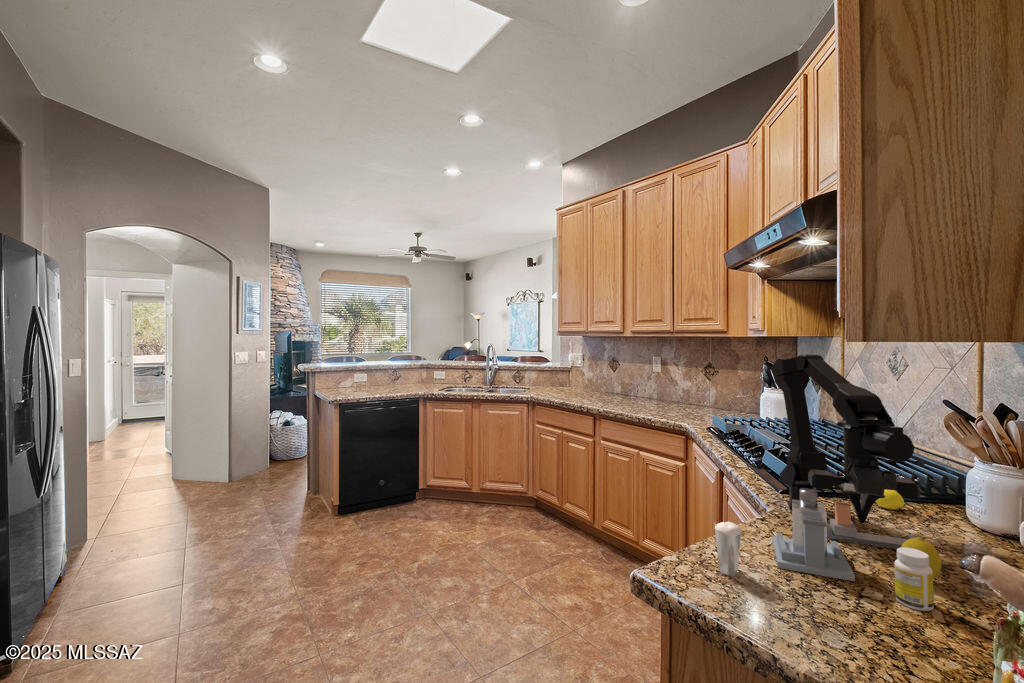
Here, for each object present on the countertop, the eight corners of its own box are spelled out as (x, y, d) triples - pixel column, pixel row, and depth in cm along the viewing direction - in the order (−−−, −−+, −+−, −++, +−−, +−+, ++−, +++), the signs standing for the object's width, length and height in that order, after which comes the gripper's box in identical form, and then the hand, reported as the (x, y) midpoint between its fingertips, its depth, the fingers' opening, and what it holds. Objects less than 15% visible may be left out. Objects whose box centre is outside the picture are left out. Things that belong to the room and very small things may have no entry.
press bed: (772, 541, 98) (771, 495, 98) (838, 551, 93) (838, 503, 93) (778, 568, 86) (777, 516, 86) (855, 582, 81) (854, 526, 81)
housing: (792, 545, 94) (791, 484, 94) (825, 551, 91) (823, 488, 91) (793, 555, 89) (792, 492, 89) (827, 562, 86) (826, 496, 86)
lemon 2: (893, 578, 82) (892, 534, 83) (910, 572, 85) (909, 529, 85) (931, 593, 77) (930, 546, 77) (948, 586, 80) (947, 540, 80)
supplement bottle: (918, 596, 76) (917, 546, 77) (942, 612, 72) (940, 559, 72) (887, 595, 77) (886, 545, 77) (909, 611, 72) (908, 558, 72)
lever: (830, 527, 103) (829, 499, 103) (851, 530, 101) (851, 501, 101) (834, 534, 99) (833, 505, 99) (856, 537, 97) (856, 508, 97)
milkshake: (716, 562, 89) (715, 511, 89) (745, 571, 85) (744, 518, 85) (707, 570, 86) (706, 517, 86) (736, 580, 82) (735, 525, 82)
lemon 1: (906, 511, 117) (909, 491, 116) (898, 516, 114) (901, 495, 113) (874, 500, 122) (877, 481, 122) (865, 504, 120) (868, 484, 119)
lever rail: (823, 532, 103) (823, 523, 103) (913, 544, 96) (913, 535, 96) (826, 538, 99) (826, 529, 99) (920, 552, 92) (920, 542, 92)
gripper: (815, 454, 95) (817, 528, 95) (930, 463, 87) (932, 544, 87) (807, 444, 105) (808, 511, 105) (909, 451, 97) (911, 524, 97)
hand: (861, 522), depth 98 cm, fingers closed
